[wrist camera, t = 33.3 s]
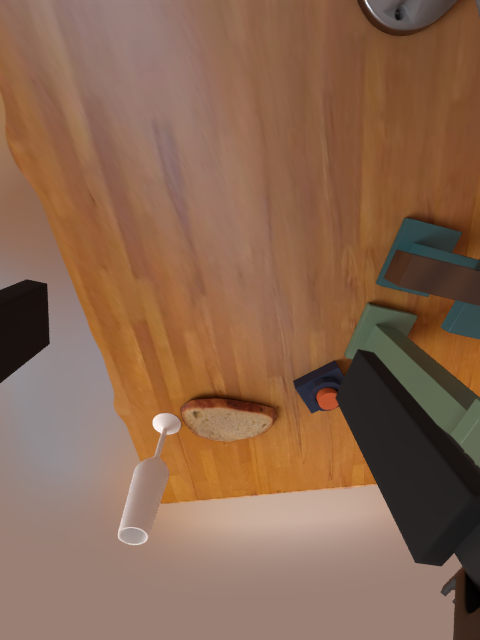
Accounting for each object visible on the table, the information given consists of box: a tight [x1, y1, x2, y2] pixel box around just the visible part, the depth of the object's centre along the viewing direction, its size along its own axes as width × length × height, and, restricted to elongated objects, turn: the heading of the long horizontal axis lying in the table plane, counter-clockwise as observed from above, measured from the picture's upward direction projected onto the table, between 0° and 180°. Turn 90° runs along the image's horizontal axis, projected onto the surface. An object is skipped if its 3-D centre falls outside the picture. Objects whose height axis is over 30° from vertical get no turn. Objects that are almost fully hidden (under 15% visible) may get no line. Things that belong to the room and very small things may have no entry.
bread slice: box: [181, 398, 276, 442], centre depth 64 cm, size 18×18×4 cm
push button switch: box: [293, 361, 345, 413], centre depth 61 cm, size 10×8×4 cm
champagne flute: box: [118, 413, 181, 545], centre depth 56 cm, size 7×7×24 cm
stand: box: [344, 303, 480, 467], centre depth 44 cm, size 12×12×30 cm
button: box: [316, 387, 338, 410], centre depth 58 cm, size 4×4×2 cm
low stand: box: [376, 218, 480, 339], centre depth 42 cm, size 12×12×21 cm
